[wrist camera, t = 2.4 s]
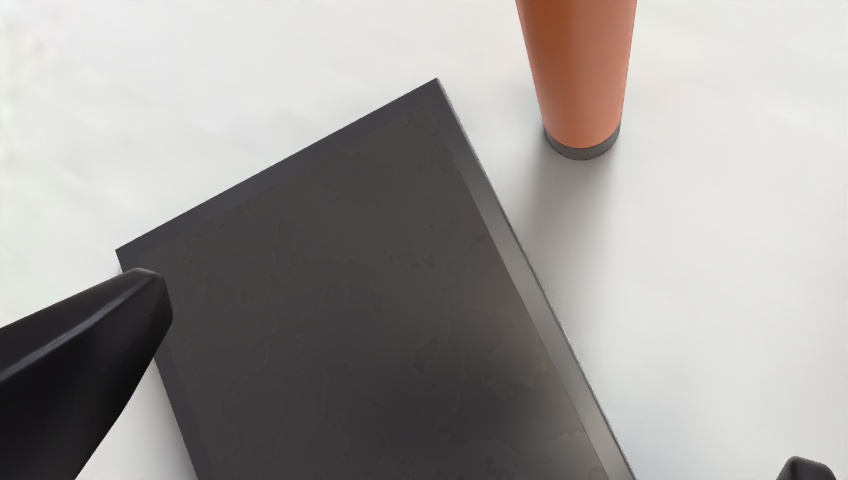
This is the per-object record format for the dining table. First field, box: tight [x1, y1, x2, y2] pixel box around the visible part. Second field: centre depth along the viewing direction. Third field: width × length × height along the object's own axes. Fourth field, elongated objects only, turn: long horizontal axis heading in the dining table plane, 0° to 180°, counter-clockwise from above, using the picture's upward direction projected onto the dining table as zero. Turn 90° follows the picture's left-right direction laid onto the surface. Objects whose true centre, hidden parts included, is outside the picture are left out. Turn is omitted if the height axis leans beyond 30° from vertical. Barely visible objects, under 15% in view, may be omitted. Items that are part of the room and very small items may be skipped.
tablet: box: [115, 78, 637, 480], centre depth 24 cm, size 20×13×1 cm, turn 25°
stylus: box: [515, 0, 637, 160], centre depth 18 cm, size 2×2×13 cm
